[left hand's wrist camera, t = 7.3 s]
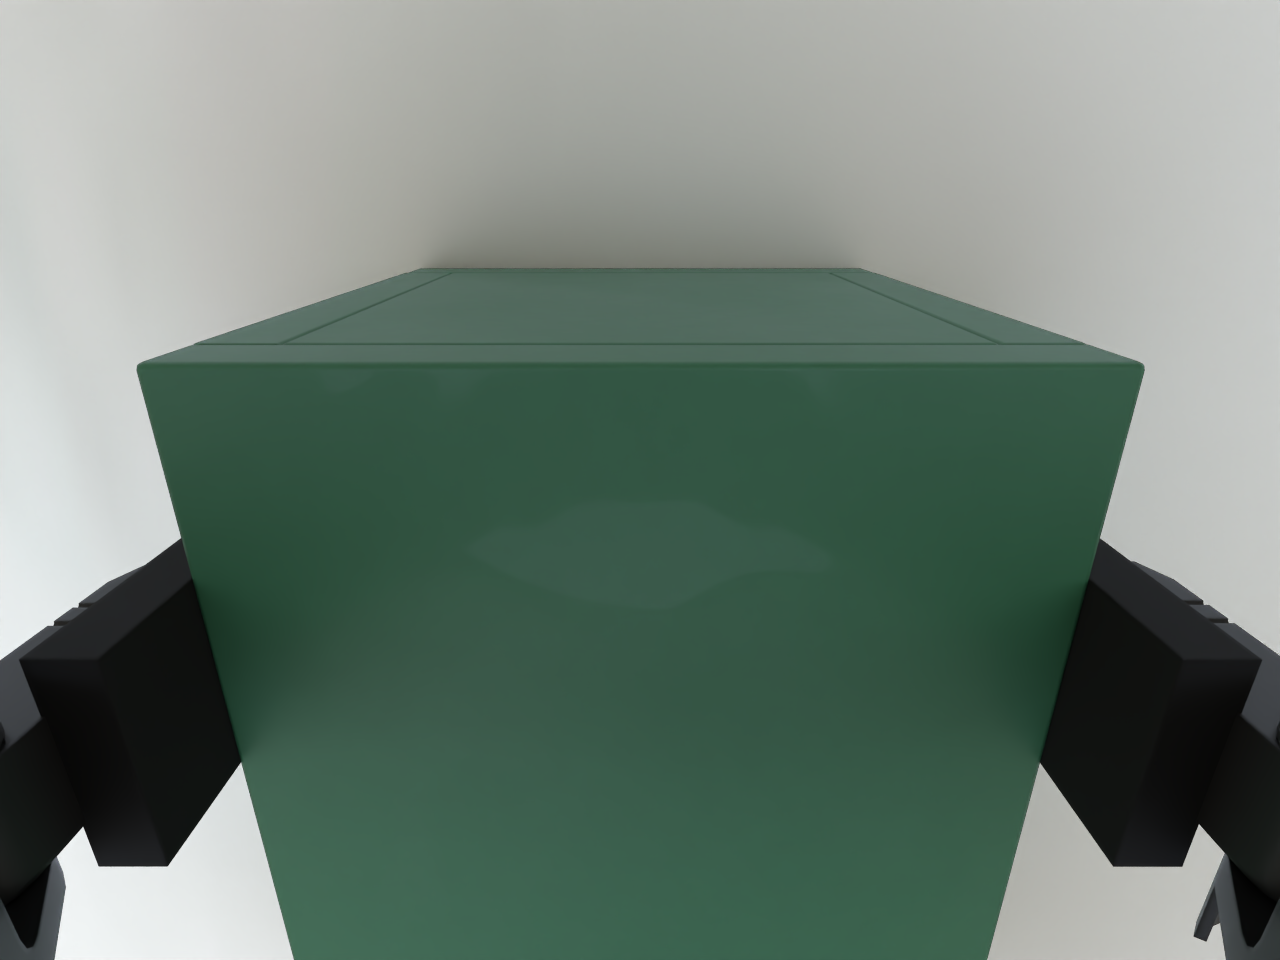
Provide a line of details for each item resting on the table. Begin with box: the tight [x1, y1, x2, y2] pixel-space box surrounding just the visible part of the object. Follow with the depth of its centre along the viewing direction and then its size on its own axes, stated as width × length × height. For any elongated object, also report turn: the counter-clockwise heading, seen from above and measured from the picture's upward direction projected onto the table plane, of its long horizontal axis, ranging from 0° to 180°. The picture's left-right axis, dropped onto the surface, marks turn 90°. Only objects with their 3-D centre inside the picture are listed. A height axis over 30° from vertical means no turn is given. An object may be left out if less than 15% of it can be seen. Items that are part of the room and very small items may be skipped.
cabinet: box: [137, 269, 1145, 960], centre depth 15 cm, size 19×10×10 cm, turn 0°
